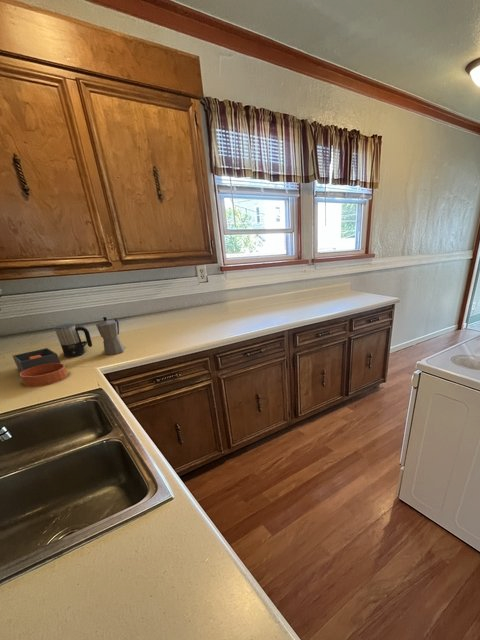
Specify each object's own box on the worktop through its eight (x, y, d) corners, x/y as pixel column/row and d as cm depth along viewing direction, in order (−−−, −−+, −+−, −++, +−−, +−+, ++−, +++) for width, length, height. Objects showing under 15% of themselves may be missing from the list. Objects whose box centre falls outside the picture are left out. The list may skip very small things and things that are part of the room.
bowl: (30, 391, 126) (25, 380, 124) (20, 382, 135) (15, 371, 133) (74, 379, 137) (70, 368, 134) (61, 371, 145) (57, 360, 143)
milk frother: (68, 358, 160) (57, 329, 153) (55, 352, 168) (44, 324, 162) (98, 351, 170) (89, 322, 163) (85, 345, 178) (76, 318, 172)
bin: (27, 378, 138) (20, 362, 135) (19, 371, 146) (12, 355, 142) (62, 369, 147) (56, 353, 144) (53, 363, 155) (47, 347, 151)
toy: (36, 371, 144) (31, 358, 141) (33, 369, 146) (28, 357, 143) (47, 369, 146) (42, 356, 144) (44, 367, 149) (39, 354, 146)
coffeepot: (115, 356, 161) (105, 320, 153) (98, 356, 162) (86, 320, 154) (132, 346, 175) (123, 313, 167) (116, 346, 176) (106, 313, 168)
